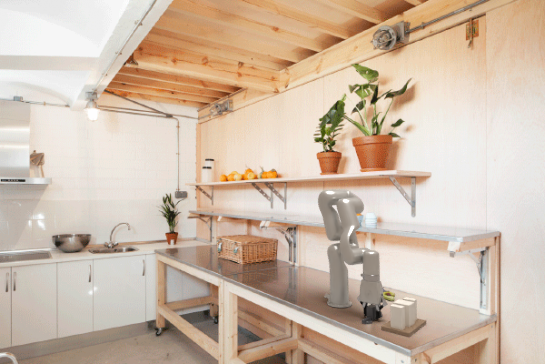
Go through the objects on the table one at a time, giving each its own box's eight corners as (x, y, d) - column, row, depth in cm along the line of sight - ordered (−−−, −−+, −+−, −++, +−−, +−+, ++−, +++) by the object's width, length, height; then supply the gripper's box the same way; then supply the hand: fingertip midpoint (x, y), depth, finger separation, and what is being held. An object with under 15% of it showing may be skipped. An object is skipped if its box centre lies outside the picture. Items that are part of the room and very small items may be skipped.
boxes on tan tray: (381, 329, 156) (380, 304, 157) (399, 317, 170) (399, 295, 171) (409, 337, 148) (408, 310, 149) (426, 323, 162) (425, 299, 163)
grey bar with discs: (359, 322, 165) (358, 309, 165) (375, 313, 177) (375, 300, 177) (368, 325, 162) (368, 311, 162) (384, 315, 174) (384, 302, 174)
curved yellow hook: (374, 289, 221) (384, 302, 196) (374, 285, 221) (384, 297, 196) (387, 289, 220) (399, 302, 195) (387, 284, 220) (399, 297, 195)
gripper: (350, 276, 173) (351, 315, 172) (385, 282, 161) (386, 324, 161) (358, 273, 178) (359, 311, 178) (392, 278, 167) (393, 319, 167)
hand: (372, 316), depth 169 cm, fingers open, 5 cm apart
